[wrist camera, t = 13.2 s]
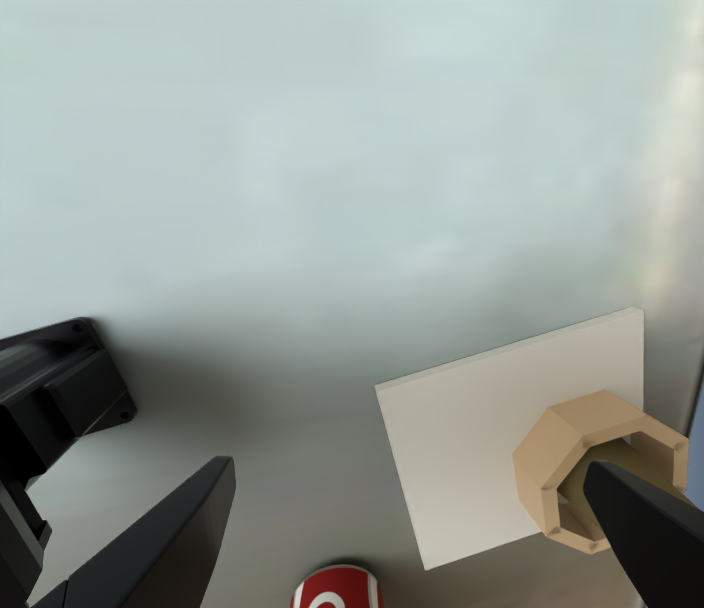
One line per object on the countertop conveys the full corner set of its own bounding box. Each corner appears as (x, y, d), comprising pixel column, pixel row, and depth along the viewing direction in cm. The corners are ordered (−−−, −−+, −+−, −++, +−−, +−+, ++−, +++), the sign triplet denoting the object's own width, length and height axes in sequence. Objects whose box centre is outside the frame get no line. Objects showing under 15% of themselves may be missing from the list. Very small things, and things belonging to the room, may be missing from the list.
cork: (578, 501, 25) (767, 706, 15) (523, 470, 24) (692, 673, 13) (633, 442, 25) (876, 615, 14) (580, 405, 23) (808, 569, 13)
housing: (421, 560, 26) (440, 616, 23) (374, 385, 21) (387, 421, 18) (633, 489, 27) (684, 532, 23) (632, 306, 22) (695, 325, 19)
